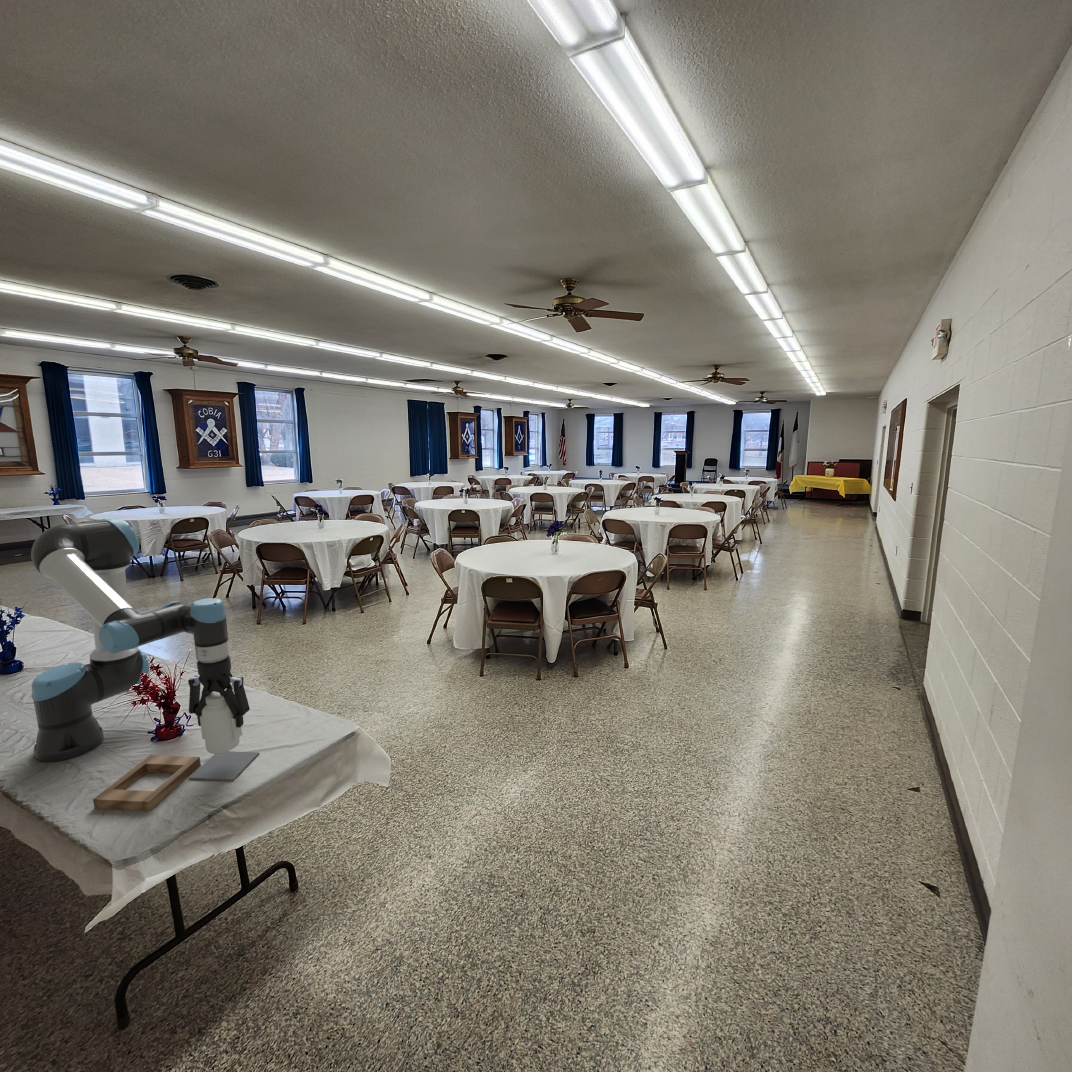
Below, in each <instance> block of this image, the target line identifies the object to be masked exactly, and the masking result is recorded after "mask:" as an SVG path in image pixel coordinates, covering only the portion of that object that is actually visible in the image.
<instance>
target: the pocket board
mask: <svg viewBox="0 0 1072 1072" xmlns="http://www.w3.org/2000/svg"><path fill="white" fill-rule="evenodd" d="M201 766H202V764H201V758H200V756H189V755H187V756H186V755H185V756H184V755H182V756H181V755H180V756H179V755H163V754H161V755H160V754H158V755H157V754H155V755H154V754H150V755H148V756H146V758H144V759H143V760H141V761H140V762H139V763H138V764H136V766H134V767H133V768H131V769H130V770H129V771H128V772H127V773H125V774H123V776H121V777H120V778H119V779H117V780H115V782H113V783H112V784H110V785H109V786H108V787H107V788H106V789H104V790H102V792H100V793H99V794H97V796H95V797H94V798H92V802H93V808H94V809H95V810H96V809H98V810H100V809H101V810H102V809H103V810H104V809H105V810H121V811H143V812H150V811H152V810H154V808H155V807H156V806H157V805H159V804H160V803H161V802H162V801H164V800H165V798H166V797H167V796H169V795H170V794H171V793H172V792H173V791H174V790H176V788H177V787H179V785H181V784H182V783H183V782H184V781H185V780H186V779H187V778H189V777H190V776H191V775H192V774H193V773H194V772H195V771H197V770H198V769H199V768H200V767H201ZM146 773H160V774H161V773H164V774H166V773H167V774H172V775H170V777H168V778H167V779H166V780H165V781H163V782H162V783H161V784H160V786H157V788H155V789H154V790H140V789H139V790H135V789H128V788H129V787H130V786H132V785H133V784H134V783H135V782H136V781H138V780H139V779H140V778H142V777H143V776H144V775H145V774H146Z"/></svg>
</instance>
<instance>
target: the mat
mask: <svg viewBox="0 0 1072 1072" xmlns="http://www.w3.org/2000/svg"><path fill="white" fill-rule="evenodd" d="M259 755H260V752H259V751H258V752H257V751H256V752H255V751H254V752H253V751H232V750H229V751H227V752H224V753H218V754H213V755H212V756H211V757H209V759H207V760H206V761H205V762H204V763H203V764H201V765H200V766H199V767H198V768H197V769H196V770H195V771H194V772H193V773H192V774H190V775H189V776H188V779H189V780H196V781H199V780H200V781H217V782H218V781H219V782H220V781H221V782H224V781H225V782H234V781H235V780H236V779H237V778H238V776H240V775H241V774H242V773H243V772H244V771H245V770H246V768H248V766H249V765H250V764H252V762H253V761H254V760H255V759H256V758H257V757H258V756H259Z"/></svg>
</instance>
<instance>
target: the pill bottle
mask: <svg viewBox="0 0 1072 1072" xmlns="http://www.w3.org/2000/svg"><path fill="white" fill-rule="evenodd" d="M206 704H207V705H206V706H205V707H204V708H203V710H202V720H203V728H204V736H205V739H204V743H205V749H206V751H207V753H210V754H213V755H214V754H218V753H224V752H227V751H232V750H233V749H234V748H236V747H238V745H239V744H240V741H241V740H240V739H241V736H240V737H239V738H238V739H237V740H233V731H232V722H231V717H233V716H234V715H233V713H232V712H231V710H230V708H229V706H228V704H227V703H226V701H225V699H224V697H223V696H221V695H220V693H219V692H212V693H211V694H209V695H208V696H207V697H206Z"/></svg>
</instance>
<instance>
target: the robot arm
mask: <svg viewBox="0 0 1072 1072" xmlns="http://www.w3.org/2000/svg"><path fill="white" fill-rule="evenodd" d="M139 550H140V543H139V538H138V535H137V533H136V531H135V530H134V528H133V527H132V525H131V524H129V523H128V522H127V521H125V520H124V519H121V518H103V519H97V520H96V519H95V520H89V521H88V520H87V521H81V522H74V523H64V524H63V523H62V524H57V525H54V526H52V527H50V528H48V529H45V530H44V531H42V533H40V534H39V536H37V538H35V540H34V542H33V544H32V547H31V552H30V557H31V562H32V564H33V566H34V568H35V570H36V571H37V572H38V573H39V574H40V575H41V576H42V577H44V578H45V579H48V580H53V581H54V582H56V584H57V585H58V586H59V587H61V589H62V590H63V591H64V592H65V593H67V594H68V596H69V597H70V598H72V600H74V602H75V603H76V604H77V605H78V606H80V608H81V609H83V610H84V611H85V613H86V614H88V615H89V616H90V617H91V619H92V621H91V622H92V626H93V627H92V628H93V629H92V630H93V638H94V648H95V649H94V650H93V651H91V652H90V653H89V663H88V664H84V663H82V662H79V661H78V662H75V661H74V662H68V663H66V664H65V663H64V664H60V665H56V666H54V667H52V668H49V669H47V670H45V671H43V672H41V673H40V674H37V676H36V677H35V678H34V679H33V681H32V682H31V692H32V693H31V699H32V700H33V701H32V702H33V705H34V710H35V716H36V722H37V726H38V730H37V734H36V735H37V736H36V741H35V744H34V747H33V755H34V756H33V757H34V758H35V760H36V761H39V762H42V763H44V762H46V763H52V762H59V761H63V760H68V759H72V758H74V757H77V756H78V757H79V756H80V755H83V754H85V753H87V752H90V751H92V750H93V749H95V748H96V747H97V746H99V745H100V744H102V742H103V741H104V738H105V734H104V730H103V728H102V726H100V723H99V722H98V720H97V719H96V718H95V716H94V715H93V710H92V705H94V704H97V703H99V702H102V701H105V700H107V699H111V698H113V697H114V696H117V695H120V694H123V693H125V692H126V693H127V692H130V691H131V690H129V687H131V686H133V685H135V684H138V683H140V682H141V676H140V674H142V673H146V674H148V675H149V673H150V660H149V659H148V658H147V657H148V655H147V654H146V653H145V652H144V651H143V650H142V649H140V648H139V647H142V646H145V645H147V644H151V643H153V642H156V641H159V640H163V639H166V638H169V637H172V636H175V635H178V634H182V633H187V634H192V636H193V642H194V649H195V657H196V660H197V662H196V668H197V674H198V675H199V676H198V675H194V676H192V677H190V678H189V679H188V680H187V683H188V685H189V698H188V699H189V700H188V713H189V714H191V715H192V714H195V716H196V719H197V726H198V727H200V729H201V737H202V740H205V736H204V728H203V720H202V710H203V708H204V707H205V706H206V705H207V704H206V697H207V696H208V695H209V694H211V693H213V692H219V693H220V695H221V696H223V697H224V699H225V701H226V703H227V704H228V706H229V708H230V710H231V712H232V713H233V715H234V716H233V717H231V722H232V731H233V740H237V739H238V738H239V737H240V738H241V736H243V729H242V726H243V725H244V715H245V714H247V713H248V712H249V711H250V710H251V707H250V705H249V702H248V701H249V700H248V698H247V693H246V690H245V687H244V680H245V679H244V677H243V676H240V677H235V676H233V674H232V673H231V671H232V663H231V662H232V661H231V656H230V653H231V650H230V643H229V634H228V633H229V632H228V624H227V621H228V620H227V612H226V609H225V603H224V601H223V600H222V599H221V598H217V597H214V598H211V597H208V598H201V599H197V600H195V601H193V602H192V603H191V602H190V601H188V602H187V601H186V600H185V601H183V600H173V601H170V602H167V603H166V604H165V605H164V606H162V607H161V608H160V609H155V610H151V611H148V612H143V613H140V612H138V611H137V610H136V609H135V608H134V607H133V606H131V604H130V603H129V601H128V590H127V589H128V588H127V577H126V570H127V568H129V567H130V566H131V565H132V561H131V557H134V556H135V555H136V554H138V553H139ZM201 685H202V686H203V688H202V690H201Z"/></svg>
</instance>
